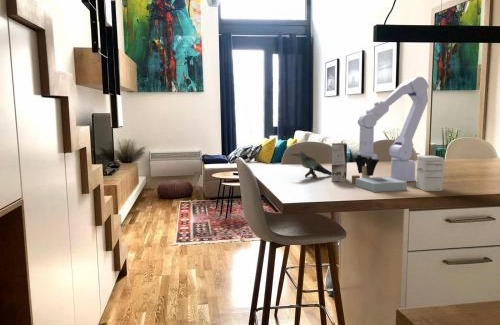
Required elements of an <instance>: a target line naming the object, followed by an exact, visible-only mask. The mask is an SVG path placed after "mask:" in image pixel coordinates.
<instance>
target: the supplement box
mask: <svg viewBox="0 0 500 325" xmlns="http://www.w3.org/2000/svg"><path fill="white" fill-rule="evenodd" d="M444 160H445V158H444V157H442V156H437V155H417V162H416V186H415V188H418V189H419V190H421V191H425V192H438V191H439V192H442V191H443V184H444V183H443V181H444V164H445V163H444V162H445V161H444Z"/></svg>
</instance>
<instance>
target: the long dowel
mask: <svg viewBox="0 0 500 325" xmlns="http://www.w3.org/2000/svg"><path fill="white" fill-rule="evenodd" d="M361 178H371V176H368V175H367V166H366V165H365V166H362V173H361Z"/></svg>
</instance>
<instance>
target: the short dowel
mask: <svg viewBox="0 0 500 325" xmlns="http://www.w3.org/2000/svg"><path fill="white" fill-rule="evenodd" d="M356 178H361V175H358V174H356V175H351V185H353V184H355V180H356Z"/></svg>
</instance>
